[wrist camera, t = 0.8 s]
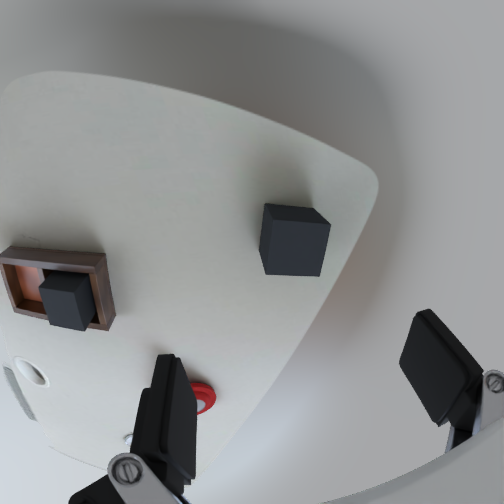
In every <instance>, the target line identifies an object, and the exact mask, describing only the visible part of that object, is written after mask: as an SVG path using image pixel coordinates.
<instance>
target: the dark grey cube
mask: <svg viewBox="0 0 504 504" xmlns="http://www.w3.org/2000/svg"><path fill="white" fill-rule="evenodd" d="M38 289H39V293H40V296H41V299H42V302H43V305H44V308H45V311H46V314H47V317H48V320H49V323H50V325H54V326H59V327H63V328H68V329H74V330H79V331H85V330H86V329H87V327H88V325H89V323H90V321H91V320H92V318H93V316H94V314H95V313H96V311H97V309H96V305H95V300H94V296H93V291H92V286H91V281H90V276H89V273H79V272H69V271H60V270H54V271H53V272H52V273H51V274H50V275H49V276H48V277H47V278H46V279H45V280H44V281H43V282H42V283H41V285H40V286H39V287H38Z"/></svg>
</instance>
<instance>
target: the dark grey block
mask: <svg viewBox="0 0 504 504" xmlns="http://www.w3.org/2000/svg"><path fill="white" fill-rule="evenodd" d="M330 227H331V224H330V223H329V222H328V221H327V220H326V219H325V218H324V217H323V216H321V215H320V214H319V213H318V212H317V211H316V210H315V209H314V208H306V207H296V206H286V205H275V204H265V206H264V214H263V222H262V231H261V239H260V247H259V252H260V256H261V259H262V263H263V267H264V270H265V274H266V275H289V276H318V277H319V276H320V273H321V268H322V264H323V260H324V255H325V251H326V246H327V242H328V237H329V232H330Z"/></svg>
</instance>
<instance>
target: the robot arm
mask: <svg viewBox="0 0 504 504" xmlns="http://www.w3.org/2000/svg"><path fill="white" fill-rule="evenodd" d="M399 364H400V367H401V369H402V371H403V372H404V374H405V375H406V377H407V379H408V380H409V382H410V384H411V385H412V387H413V388H414V390H415V392H416V393H417V395H418V397H419V398H420V400H421V402H422V404H423V406H424V407H425V409H426V410H427V412H428V414H429V416H430V418H431V420H432V421H433V422H435V423H436V424H437V425H438V427H439V426H441V425H443V424H445V423H447V422H448V421H450V423H451V427H450V432H449V437H448V442H447V446H446V450H445V454H443V455H442V456H440V457H438V458H436V459H434V460H433V461H431V462H429V463H427V464H425V465H423V466H421V467H419V468H417V469H415V470H413V471H411V472H409V473H407V474H405V475H402V476H400V477H398V478H396V479H393V480H391V481H388V482H386V483H384V484H381V485H378V486H376V487H373V488H370V489H367V490H365V491H362V492H359V493H356V494H352V495H349V496H346V497H343V498H339V499H336V500H332V501H328V502H324V503H320V504H504V374H503V373H502V372H500V371H498V370H490V371H488V372H486V373H485V375H484V376H483V375H482V373H483V369H482V368H481V366H480V365H479V364H478V363H477V361H476V360H475V359H474V358H473V357H472V355H471V354H470V353H469V352H468V351H467V349H466V348H465V347H464V346H463V345H462V343H461V342H460V341H459V340H458V339H457V338H456V336H455V335H454V334H453V333H452V332H451V331H450V330H449V329H448V328H447V326H446V325H445V324H444V323H443V322H442V321H441V320H440V319H439V318H438V316H437V315H436V314H435V313H434V312H433V311H432V310H431V309H426V310H423V311H420V312H417V313H416V316H415V317H414V318H413V321H412V324H411V328H410V331H409V334H408V337H407V340H406V343H405V346H404V349H403V352H402V354H401V357H400V361H399ZM197 407H198V405H197V399H196V396H195V394H194V391H193V389H192V387H191V384H190V382H189V380H188V377H187V375H186V372H185V370H184V367H183V365H182V362H181V360H180V358H176V357H175V355H174V354H162V355H158V357H157V360H156V365H155V369H154V373H153V378H152V383H151V388H144V389H143V391H142V394H141V398H140V402H139V407H138V412H137V417H136V422H135V427H134V432H133V437H132V443H131V448H130V453H121V454H119V455H116V456H115V457H114V458H112V460H111V461H110V462H109V465H108V468H107V470H108V474H107V475H105V476H104V477H102V478H101V479H99V480H97V481H96V482H94V483H92V484H91V485H89V486H87V487H86V488H84V489H82V490H80V491H79V492H77V493H75V494H74V495H72V496H71V498H70V500H69V503H68V504H191V503H190V502H189V501H188V500H187V499H186V498H185V497H184V496H183V493H184V485H191V479H195V476H196V432H197Z"/></svg>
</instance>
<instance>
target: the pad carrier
mask: <svg viewBox="0 0 504 504" xmlns="http://www.w3.org/2000/svg"><path fill="white" fill-rule="evenodd" d="M0 270H1V274H2V277H3V280H4V284H5V287H6V290H7V293H8V296H9V299H10V302H11V304H12V307H13V310H14V312H15V313H19V314H23V315H27V316H31V317H36V318H40V319H45V320H48V317H47V314H46V311H45V308H44V305H43V302H42V299H41V296H40V293H39V289H38V287H39V286H40V285H41V283H42V282H43V281H44V280H45V279H46V278H47V277H48V276H49V275H50V274H51V273H52V272H53V271H54V270H60V271H69V272H79V273H89V276H90V281H91V286H92V291H93V296H94V300H95V305H96V309H97V311H96V313H95V314H94V316H93V318H92V320H91V321H90V323H89V325H88V327H87V328H92V329H98V330H104V331H109V329H110V327H111V325H112V322H113V320H114V318H115V316H116V313H115V309H114V304H113V298H112V293H111V287H110V281H109V275H108V268H107V261H106V254H104V253H89V252H75V251H61V250H48V249H35V248H22V247H9V248H7V249H6V250H5V251H3V252H2V253H1V254H0Z"/></svg>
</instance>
